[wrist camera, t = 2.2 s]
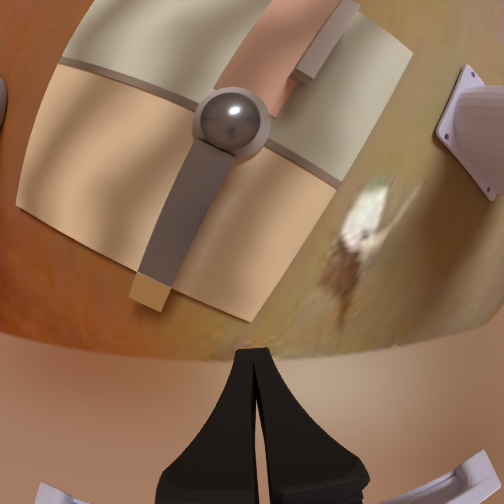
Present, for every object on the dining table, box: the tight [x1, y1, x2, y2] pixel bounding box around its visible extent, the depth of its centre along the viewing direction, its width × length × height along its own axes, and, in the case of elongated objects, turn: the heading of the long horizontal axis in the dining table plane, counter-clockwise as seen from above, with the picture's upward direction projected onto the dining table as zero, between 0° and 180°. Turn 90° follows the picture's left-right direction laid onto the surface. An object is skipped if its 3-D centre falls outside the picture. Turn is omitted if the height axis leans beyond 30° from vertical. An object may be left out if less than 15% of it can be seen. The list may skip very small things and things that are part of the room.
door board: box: [16, 0, 413, 322], centre depth 13 cm, size 21×23×3 cm
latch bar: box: [129, 92, 261, 312], centre depth 15 cm, size 13×3×3 cm, turn 151°
